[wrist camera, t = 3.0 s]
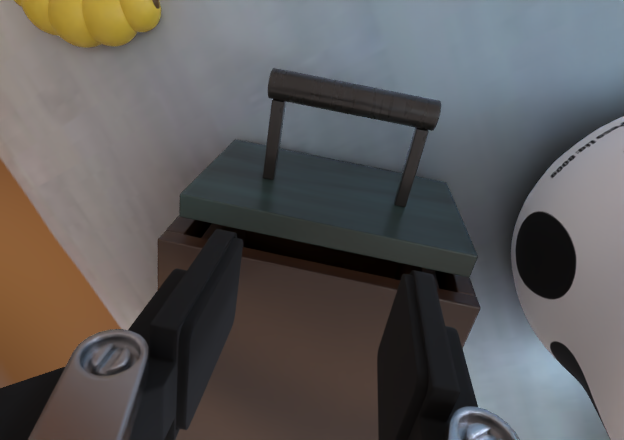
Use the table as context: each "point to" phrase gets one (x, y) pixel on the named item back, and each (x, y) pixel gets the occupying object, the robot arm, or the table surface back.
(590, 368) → the milk container
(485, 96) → the table surface
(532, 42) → the table surface
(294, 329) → the cabinet
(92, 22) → the yellow caterpillar toy
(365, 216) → the drawer
